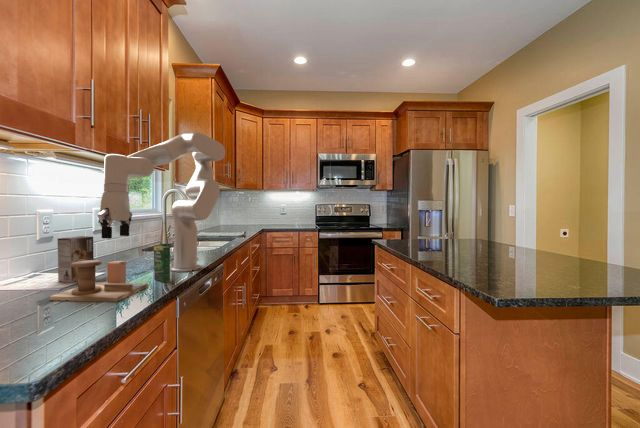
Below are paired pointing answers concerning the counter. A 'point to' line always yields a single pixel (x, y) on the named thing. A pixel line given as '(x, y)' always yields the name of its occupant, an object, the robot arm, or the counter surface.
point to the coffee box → (73, 256)
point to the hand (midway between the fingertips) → (115, 237)
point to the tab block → (117, 272)
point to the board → (103, 292)
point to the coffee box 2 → (162, 263)
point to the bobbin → (86, 277)
